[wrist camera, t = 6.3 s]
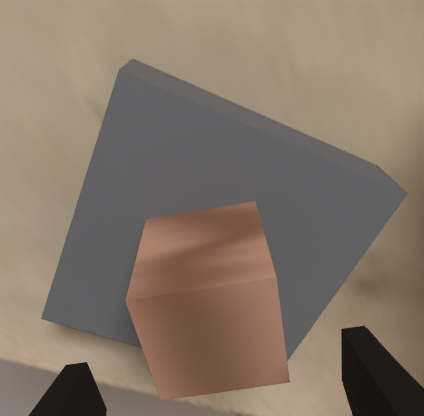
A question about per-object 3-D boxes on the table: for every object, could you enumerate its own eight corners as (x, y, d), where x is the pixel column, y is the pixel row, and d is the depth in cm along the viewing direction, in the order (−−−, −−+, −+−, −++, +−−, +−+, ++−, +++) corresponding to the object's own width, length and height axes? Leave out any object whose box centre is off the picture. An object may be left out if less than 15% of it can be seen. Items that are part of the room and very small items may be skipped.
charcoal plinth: (377, 166, 19) (407, 193, 16) (262, 341, 24) (270, 384, 21) (132, 58, 16) (119, 69, 14) (61, 279, 21) (41, 318, 19)
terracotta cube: (255, 201, 16) (276, 277, 12) (267, 288, 18) (289, 382, 14) (145, 219, 16) (125, 300, 12) (170, 303, 18) (160, 400, 14)
